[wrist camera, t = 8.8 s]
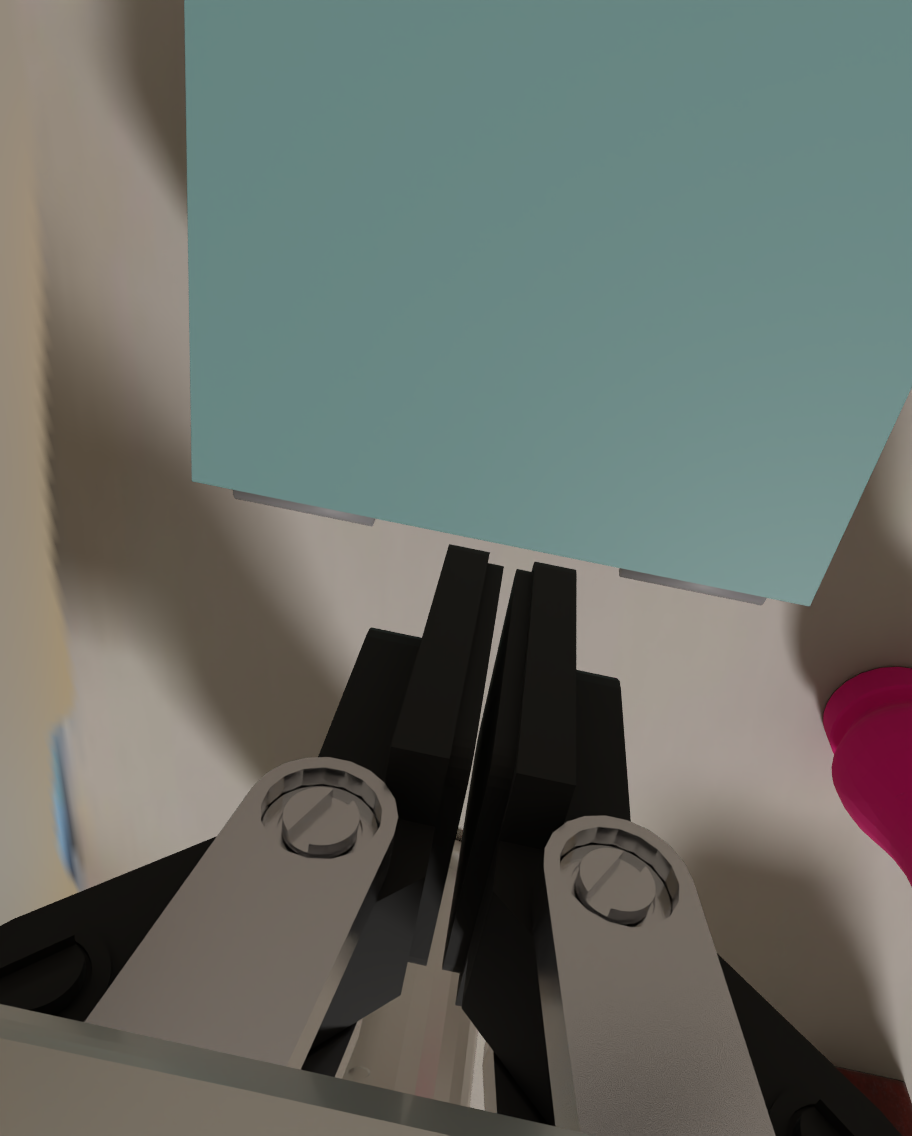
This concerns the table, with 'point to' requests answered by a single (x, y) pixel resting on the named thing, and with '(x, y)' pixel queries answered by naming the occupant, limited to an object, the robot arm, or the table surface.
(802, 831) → the table surface
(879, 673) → the pepper mill
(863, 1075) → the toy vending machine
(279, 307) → the lid
